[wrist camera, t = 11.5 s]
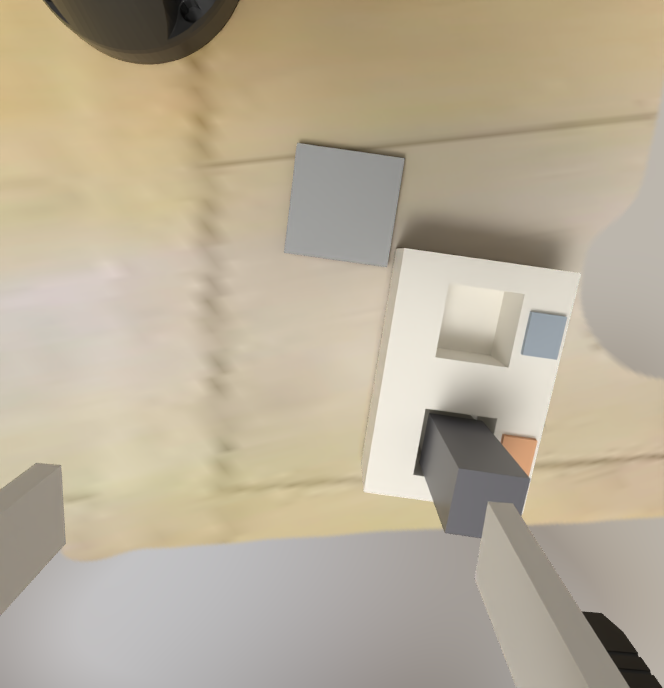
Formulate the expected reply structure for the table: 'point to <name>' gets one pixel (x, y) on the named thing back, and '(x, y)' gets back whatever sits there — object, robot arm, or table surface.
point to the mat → (343, 204)
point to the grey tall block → (467, 471)
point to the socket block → (463, 359)
